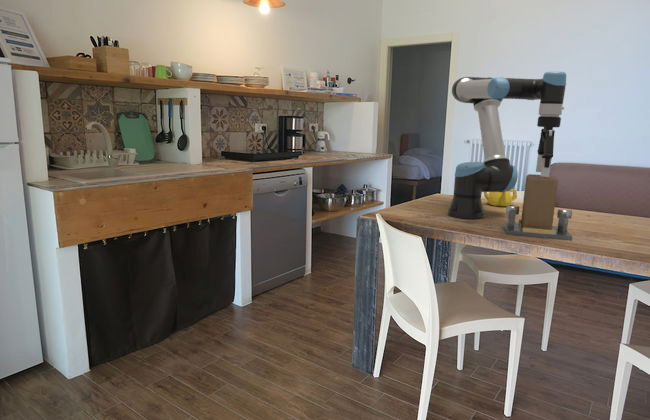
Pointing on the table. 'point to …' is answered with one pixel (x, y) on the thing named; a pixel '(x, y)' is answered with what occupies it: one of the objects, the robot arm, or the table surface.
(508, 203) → the yellow rounded piece
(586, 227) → the table surface
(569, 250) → the table surface
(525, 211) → the wooden block
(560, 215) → the grey metal fixture stand
